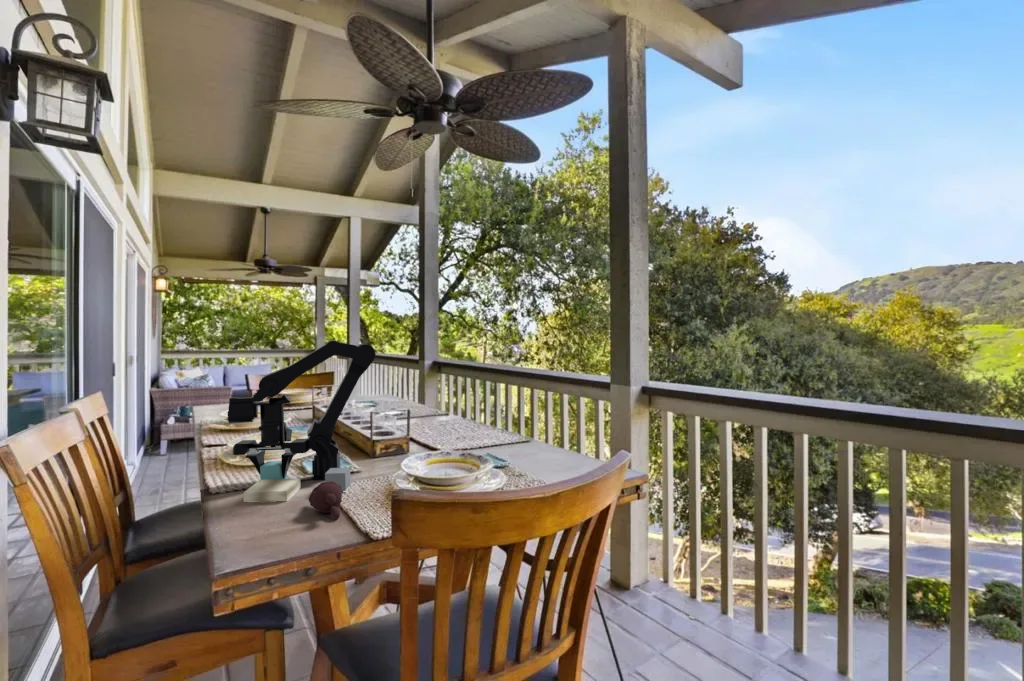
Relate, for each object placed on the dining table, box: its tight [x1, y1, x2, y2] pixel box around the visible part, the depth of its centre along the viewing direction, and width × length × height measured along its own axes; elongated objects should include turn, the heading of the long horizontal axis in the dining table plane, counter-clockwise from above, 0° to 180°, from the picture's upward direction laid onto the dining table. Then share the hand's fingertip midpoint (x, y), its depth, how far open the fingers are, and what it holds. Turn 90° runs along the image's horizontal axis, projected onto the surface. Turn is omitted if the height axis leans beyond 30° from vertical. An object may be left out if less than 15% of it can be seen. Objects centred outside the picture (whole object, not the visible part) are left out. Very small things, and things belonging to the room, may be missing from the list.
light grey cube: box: [324, 467, 351, 491], centre depth 133 cm, size 5×5×5 cm
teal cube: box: [259, 460, 288, 480], centre depth 140 cm, size 5×5×5 cm
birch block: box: [243, 477, 301, 503], centre depth 129 cm, size 10×10×3 cm
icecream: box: [308, 481, 344, 520], centre depth 118 cm, size 7×7×15 cm
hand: (273, 478), depth 140 cm, fingers closed on teal cube, 5 cm apart
